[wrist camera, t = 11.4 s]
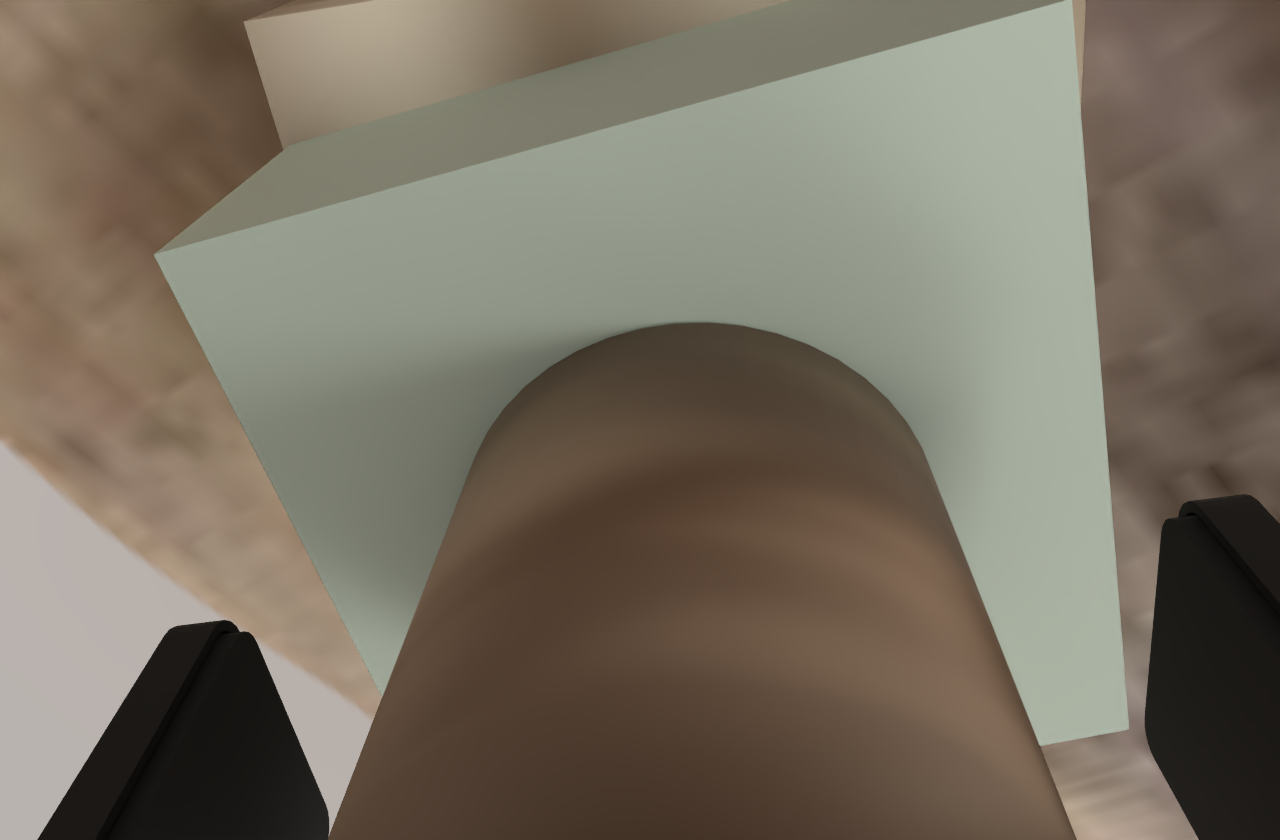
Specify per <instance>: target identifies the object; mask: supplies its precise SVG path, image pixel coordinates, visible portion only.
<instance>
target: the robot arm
mask: <svg viewBox="0 0 1280 840" xmlns="http://www.w3.org/2000/svg"><path fill="white" fill-rule="evenodd" d="M1145 731H1146V736H1147V740H1148V744H1149V747H1150V750H1151V753H1152V755H1153V757H1154V759H1155V761H1156V763H1157V764H1158V766H1159V768H1160V770H1161V772H1162V773H1163V775H1164V777H1165V779H1166V781H1167V783H1168V784H1169V786H1170V788H1171V790H1172V792H1173V793H1174V795H1175V797H1176V799H1177V801H1178V802H1179V804H1180V806H1181V808H1182V810H1183V812H1184V813H1185V815H1186V817H1187V819H1188V821H1189V822H1190V824H1191V826H1192V828H1193V830H1194V831H1195V833H1196V835H1197V837H1198V839H1199V840H1280V524H1279V523H1278V522H1277V521H1276V520H1275V518H1274V517H1273V516H1272V515H1271V514H1270V513H1269V512H1268V511H1267V510H1266V509H1265V508H1264V507H1263V506H1262V505H1261V503H1260V502H1259V501H1257V500H1256V499H1255V498H1254V497H1252V496H1250V495H1245V494H1244V495H1236V496H1228V497H1219V498H1211V499H1203V500H1195V501H1188V502H1186V503H1184V504H1183V506H1182V507H1181V509H1180V511H1179V516H1178V518H1170V519H1167V520H1165V522H1164V524H1163V527H1162V532H1161V542H1160V553H1159V564H1158V575H1157V586H1156V597H1155V608H1154V619H1153V631H1152V642H1151V653H1150V664H1149V675H1148V686H1147V697H1146V708H1145ZM328 834H329V816H328V810H327V807H326V804H325V802H324V799H323V797H322V795H321V792H320V790H319V788H318V785H317V783H316V780H315V778H314V776H313V773H312V771H311V769H310V767H309V764H308V762H307V759H306V757H305V755H304V752H303V750H302V748H301V746H300V743H299V740H298V738H297V736H296V733H295V731H294V729H293V726H292V724H291V722H290V719H289V717H288V715H287V712H286V710H285V708H284V705H283V703H282V700H281V698H280V696H279V694H278V691H277V689H276V686H275V684H274V682H273V679H272V677H271V675H270V672H269V670H268V668H267V665H266V663H265V660H264V658H263V656H262V654H261V651H260V649H259V646H258V644H257V642H256V640H255V638H254V637H253V635H251V634H250V633H249V632H240V631H239V630H238V628H237V626H236V625H234V624H233V623H232V622H231V621H227V620H222V621H213V622H205V623H197V624H189V625H181V626H176V627H173V628H171V629H170V630H169V631H168V632H167V633H166V634H165V635H164V637H163V639H162V640H161V642H160V643H159V645H158V647H157V648H156V650H155V651H154V653H153V655H152V656H151V658H150V660H149V661H148V663H147V664H146V666H145V668H144V669H143V671H142V673H141V674H140V676H139V677H138V679H137V680H136V682H135V684H134V686H133V687H132V689H131V690H130V692H129V693H128V695H127V697H126V698H125V700H124V702H123V703H122V705H121V706H120V708H119V710H118V711H117V713H116V714H115V716H114V717H113V719H112V721H111V722H110V724H109V725H108V727H107V729H106V730H105V732H104V734H103V735H102V737H101V738H100V740H99V742H98V743H97V745H96V746H95V748H94V750H93V751H92V753H91V754H90V756H89V758H88V760H87V761H86V763H85V764H84V766H83V767H82V769H81V771H80V772H79V774H78V775H77V777H76V779H75V780H74V782H73V783H72V785H71V787H70V789H69V790H68V791H67V793H66V795H65V796H64V798H63V800H62V801H61V803H60V804H59V806H58V808H57V809H56V811H55V812H54V814H53V816H52V817H51V819H50V820H49V822H48V824H47V825H46V827H45V828H44V830H43V832H42V833H41V835H40V837H39V838H38V840H328Z"/></svg>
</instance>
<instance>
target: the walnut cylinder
mask: <svg viewBox="0 0 1280 840" xmlns="http://www.w3.org/2000/svg"><path fill="white" fill-rule="evenodd" d="M328 840H1077V839H1076V837H1075V834H1074V832H1073V829H1072V827H1071V824H1070V822H1069V819H1068V816H1067V814H1066V811H1065V809H1064V806H1063V804H1062V801H1061V799H1060V796H1059V794H1058V791H1057V789H1056V786H1055V783H1054V781H1053V778H1052V776H1051V773H1050V771H1049V768H1048V766H1047V763H1046V761H1045V758H1044V755H1043V753H1042V750H1041V748H1040V745H1039V743H1038V740H1037V738H1036V735H1035V733H1034V730H1033V728H1032V725H1031V722H1030V720H1029V717H1028V715H1027V712H1026V710H1025V707H1024V705H1023V702H1022V700H1021V697H1020V695H1019V692H1018V689H1017V687H1016V684H1015V682H1014V679H1013V677H1012V674H1011V672H1010V669H1009V667H1008V664H1007V661H1006V659H1005V656H1004V654H1003V651H1002V649H1001V646H1000V644H999V641H998V639H997V636H996V634H995V631H994V628H993V626H992V623H991V621H990V618H989V616H988V613H987V611H986V608H985V606H984V603H983V601H982V598H981V595H980V593H979V590H978V588H977V585H976V583H975V580H974V578H973V575H972V573H971V570H970V567H969V565H968V562H967V560H966V557H965V555H964V552H963V550H962V547H961V545H960V542H959V540H958V537H957V534H956V532H955V529H954V527H953V524H952V522H951V519H950V517H949V514H948V512H947V509H946V507H945V504H944V501H943V499H942V496H941V494H940V491H939V489H938V486H937V484H936V481H935V479H934V476H933V473H932V471H931V468H930V466H929V463H928V461H927V458H926V456H925V453H924V451H923V448H922V446H921V445H920V443H919V441H918V440H917V438H916V436H915V435H914V433H913V431H912V430H911V428H910V426H909V425H908V423H907V422H906V420H905V419H904V418H903V417H902V415H901V414H900V413H899V412H898V411H897V409H896V408H895V407H894V406H893V404H892V403H891V402H890V401H889V400H888V399H887V398H886V397H885V396H884V395H883V394H882V393H881V392H880V391H879V390H878V389H877V388H875V387H874V386H873V385H872V384H871V383H870V382H869V381H868V380H867V379H866V378H864V377H863V376H861V375H860V374H859V373H857V372H856V371H854V370H853V369H851V368H850V367H848V366H847V365H846V364H844V363H843V362H841V361H840V360H838V359H836V358H834V357H832V356H830V355H828V354H826V353H824V352H822V351H820V350H818V349H816V348H815V347H813V346H811V345H808V344H806V343H803V342H800V341H797V340H794V339H792V338H789V337H786V336H783V335H780V334H777V333H773V332H769V331H764V330H760V329H755V328H750V327H746V326H738V325H728V324H717V323H681V324H669V325H662V326H656V327H649V328H642V329H638V330H634V331H631V332H627V333H624V334H620V335H617V336H613V337H609V338H606V339H604V340H602V341H599V342H597V343H595V344H592V345H590V346H588V347H585V348H583V349H580V350H578V351H576V352H574V353H573V354H571V355H569V356H568V357H566V358H564V359H563V360H561V361H559V362H557V363H556V364H554V365H552V366H551V367H549V368H548V369H547V370H545V371H544V372H543V373H541V374H540V375H539V376H538V377H536V378H535V379H534V380H532V381H531V382H530V383H529V384H527V385H526V386H525V387H524V388H523V389H522V390H521V391H520V392H519V393H518V394H517V395H516V396H515V397H514V398H513V399H512V400H511V402H510V403H509V404H508V405H507V406H506V407H505V408H504V409H503V411H502V412H501V413H500V415H499V416H498V418H497V419H496V420H495V422H494V423H493V425H492V426H491V427H490V429H489V430H488V432H487V434H486V436H485V438H484V439H483V441H482V443H481V445H480V447H479V449H478V451H477V453H476V455H475V457H474V460H473V463H472V465H471V468H470V470H469V473H468V476H467V478H466V481H465V483H464V486H463V489H462V491H461V494H460V496H459V499H458V502H457V504H456V507H455V510H454V512H453V515H452V517H451V520H450V523H449V525H448V528H447V530H446V533H445V536H444V538H443V541H442V543H441V546H440V549H439V551H438V554H437V556H436V559H435V562H434V564H433V567H432V569H431V572H430V575H429V577H428V580H427V582H426V585H425V588H424V590H423V593H422V595H421V598H420V601H419V603H418V606H417V608H416V611H415V614H414V616H413V619H412V621H411V624H410V627H409V629H408V632H407V634H406V637H405V640H404V642H403V645H402V647H401V650H400V653H399V655H398V658H397V660H396V663H395V666H394V668H393V671H392V673H391V676H390V679H389V681H388V684H387V686H386V689H385V692H384V694H383V697H382V699H381V702H380V705H379V707H378V710H377V712H376V715H375V718H374V720H373V723H372V725H371V728H370V731H369V733H368V736H367V739H366V741H365V744H364V746H363V749H362V751H361V754H360V757H359V759H358V762H357V765H356V767H355V770H354V772H353V775H352V778H351V780H350V783H349V785H348V788H347V791H346V793H345V796H344V798H343V801H342V804H341V806H340V809H339V811H338V814H337V817H336V819H335V822H334V825H333V827H332V830H331V832H330V835H329V837H328Z"/></svg>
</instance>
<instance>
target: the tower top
mask: <svg viewBox="0 0 1280 840" xmlns="http://www.w3.org/2000/svg"><path fill="white" fill-rule="evenodd" d="M154 257H155V259H156V260H157V262H158V264H159V266H160V268H161V270H162V272H163V274H164V276H165V278H166V280H167V282H168V284H169V286H170V288H171V290H172V291H173V293H174V295H175V297H176V299H177V301H178V303H179V305H180V307H181V309H182V311H183V313H184V315H185V317H186V319H187V321H188V322H189V324H190V326H191V328H192V330H193V332H194V334H195V336H196V338H197V340H198V342H199V344H200V346H201V348H202V350H203V351H204V353H205V355H206V357H207V359H208V361H209V363H210V365H211V367H212V369H213V371H214V373H215V375H216V377H217V379H218V381H219V382H220V384H221V386H222V388H223V390H224V392H225V394H226V396H227V398H228V400H229V402H230V404H231V406H232V408H233V410H234V411H235V413H236V415H237V417H238V419H239V421H240V423H241V425H242V427H243V429H244V431H245V433H246V435H247V437H248V439H249V441H250V442H251V444H252V446H253V448H254V450H255V452H256V454H257V456H258V458H259V460H260V462H261V464H262V466H263V468H264V470H265V471H266V473H267V475H268V477H269V479H270V481H271V483H272V485H273V487H274V489H275V491H276V493H277V495H278V497H279V499H280V501H281V502H282V504H283V506H284V508H285V510H286V512H287V514H288V516H289V518H290V520H291V522H292V524H293V526H294V528H295V530H296V531H297V533H298V535H299V537H300V539H301V541H302V543H303V545H304V547H305V549H306V551H307V553H308V555H309V557H310V559H311V561H312V562H313V564H314V566H315V568H316V570H317V572H318V574H319V576H320V578H321V580H322V582H323V584H324V586H325V588H326V590H327V592H328V593H329V595H330V597H331V599H332V601H333V603H334V605H335V607H336V609H337V611H338V613H339V615H340V617H341V619H342V621H343V622H344V624H345V626H346V628H347V630H348V632H349V634H350V636H351V638H352V640H353V642H354V644H355V646H356V648H357V650H358V652H359V653H360V655H361V657H362V659H363V661H364V663H365V665H366V667H367V669H368V671H369V673H370V675H371V677H372V679H373V681H374V682H375V684H376V686H377V688H378V690H379V692H380V694H381V696H382V697H383V694H384V692H385V689H386V686H387V684H388V681H389V679H390V676H391V673H392V671H393V668H394V666H395V663H396V660H397V658H398V655H399V653H400V650H401V647H402V645H403V642H404V640H405V637H406V634H407V632H408V629H409V627H410V624H411V621H412V619H413V616H414V614H415V611H416V608H417V606H418V603H419V601H420V598H421V595H422V593H423V590H424V588H425V585H426V582H427V580H428V577H429V575H430V572H431V569H432V567H433V564H434V562H435V559H436V556H437V554H438V551H439V549H440V546H441V543H442V541H443V538H444V536H445V533H446V530H447V528H448V525H449V523H450V520H451V517H452V515H453V512H454V510H455V507H456V504H457V502H458V499H459V496H460V494H461V491H462V489H463V486H464V483H465V481H466V478H467V476H468V473H469V470H470V468H471V465H472V463H473V460H474V457H475V455H476V453H477V451H478V449H479V447H480V445H481V443H482V441H483V439H484V438H485V436H486V434H487V432H488V430H489V429H490V427H491V426H492V425H493V423H494V422H495V420H496V419H497V418H498V416H499V415H500V413H501V412H502V411H503V409H504V408H505V407H506V406H507V405H508V404H509V403H510V402H511V400H512V399H513V398H514V397H515V396H516V395H517V394H518V393H519V392H520V391H521V390H522V389H523V388H524V387H525V386H526V385H527V384H529V383H530V382H531V381H532V380H534V379H535V378H536V377H538V376H539V375H540V374H541V373H543V372H544V371H545V370H547V369H548V368H549V367H551V366H552V365H554V364H556V363H557V362H559V361H561V360H563V359H564V358H566V357H568V356H569V355H571V354H573V353H574V352H576V351H578V350H580V349H583V348H585V347H588V346H590V345H592V344H595V343H597V342H599V341H602V340H604V339H606V338H609V337H613V336H617V335H620V334H624V333H627V332H631V331H634V330H638V329H642V328H649V327H656V326H662V325H669V324H681V323H717V324H728V325H738V326H746V327H750V328H755V329H760V330H764V331H769V332H773V333H777V334H780V335H783V336H786V337H789V338H792V339H794V340H797V341H800V342H803V343H806V344H808V345H811V346H813V347H815V348H816V349H818V350H820V351H822V352H824V353H826V354H828V355H830V356H832V357H834V358H836V359H838V360H840V361H841V362H843V363H844V364H846V365H847V366H848V367H850V368H851V369H853V370H854V371H856V372H857V373H859V374H860V375H861V376H863V377H864V378H866V379H867V380H868V381H869V382H870V383H871V384H872V385H873V386H874V387H875V388H877V389H878V390H879V391H880V392H881V393H882V394H883V395H884V396H885V397H886V398H887V399H888V400H889V401H890V402H891V403H892V404H893V406H894V407H895V408H896V409H897V411H898V412H899V413H900V414H901V415H902V417H903V418H904V419H905V420H906V422H907V423H908V425H909V426H910V428H911V430H912V431H913V433H914V435H915V436H916V438H917V440H918V441H919V443H920V445H921V446H922V448H923V451H924V453H925V456H926V458H927V461H928V463H929V466H930V468H931V471H932V473H933V476H934V479H935V481H936V484H937V486H938V489H939V491H940V494H941V496H942V499H943V501H944V504H945V507H946V509H947V512H948V514H949V517H950V519H951V522H952V524H953V527H954V529H955V532H956V534H957V537H958V540H959V542H960V545H961V547H962V550H963V552H964V555H965V557H966V560H967V562H968V565H969V567H970V570H971V573H972V575H973V578H974V580H975V583H976V585H977V588H978V590H979V593H980V595H981V598H982V601H983V603H984V606H985V608H986V611H987V613H988V616H989V618H990V621H991V623H992V626H993V628H994V631H995V634H996V636H997V639H998V641H999V644H1000V646H1001V649H1002V651H1003V654H1004V656H1005V659H1006V661H1007V664H1008V667H1009V669H1010V672H1011V674H1012V677H1013V679H1014V682H1015V684H1016V687H1017V689H1018V692H1019V695H1020V697H1021V700H1022V702H1023V705H1024V707H1025V710H1026V712H1027V715H1028V717H1029V720H1030V722H1031V725H1032V728H1033V730H1034V733H1035V735H1036V738H1037V740H1038V743H1039V745H1040V746H1042V745H1048V744H1053V743H1059V742H1064V741H1069V740H1075V739H1080V738H1086V737H1091V736H1096V735H1102V734H1107V733H1113V732H1118V731H1123V730H1129V722H1128V710H1127V697H1126V684H1125V671H1124V659H1123V646H1122V633H1121V620H1120V607H1119V595H1118V582H1117V569H1116V556H1115V543H1114V531H1113V518H1112V505H1111V492H1110V479H1109V467H1108V454H1107V441H1106V428H1105V415H1104V403H1103V390H1102V377H1101V364H1100V352H1099V339H1098V326H1097V313H1096V300H1095V288H1094V275H1093V262H1092V249H1091V236H1090V224H1089V211H1088V198H1087V185H1086V172H1085V160H1084V147H1083V134H1082V121H1081V108H1080V96H1079V83H1078V70H1077V57H1076V45H1075V32H1074V19H1073V6H1072V0H790V1H787V2H784V3H780V4H777V5H773V6H770V7H766V8H763V9H759V10H756V11H752V12H749V13H745V14H742V15H739V16H735V17H732V18H728V19H725V20H721V21H718V22H714V23H711V24H707V25H704V26H700V27H697V28H693V29H690V30H687V31H683V32H680V33H676V34H673V35H669V36H666V37H662V38H659V39H655V40H652V41H648V42H645V43H642V44H638V45H635V46H631V47H628V48H624V49H621V50H617V51H614V52H610V53H607V54H603V55H600V56H597V57H593V58H590V59H586V60H583V61H579V62H576V63H572V64H569V65H565V66H562V67H558V68H555V69H551V70H548V71H545V72H541V73H538V74H534V75H531V76H527V77H524V78H520V79H517V80H513V81H510V82H506V83H503V84H500V85H496V86H493V87H489V88H486V89H482V90H479V91H475V92H472V93H468V94H465V95H461V96H458V97H454V98H451V99H448V100H444V101H441V102H437V103H434V104H430V105H427V106H423V107H420V108H416V109H413V110H409V111H406V112H403V113H399V114H396V115H392V116H389V117H385V118H382V119H378V120H375V121H371V122H368V123H364V124H361V125H357V126H354V127H351V128H347V129H344V130H340V131H337V132H333V133H330V134H326V135H323V136H319V137H316V138H312V139H309V140H306V141H302V142H299V143H295V144H292V145H289V146H288V147H287V148H286V149H284V150H283V151H282V152H281V153H279V154H278V155H277V156H276V157H274V158H273V159H272V160H271V161H269V162H268V163H267V164H266V165H264V166H263V167H262V168H261V169H259V170H258V171H257V172H256V173H254V174H253V175H252V176H251V177H249V178H248V179H247V180H246V181H244V182H243V183H242V184H241V185H240V186H238V187H237V188H236V189H235V190H233V191H232V192H231V193H230V194H228V195H227V196H226V197H225V198H223V199H222V200H221V201H220V202H218V203H217V204H216V205H215V206H213V207H212V208H211V209H210V210H208V211H207V212H206V213H205V214H203V215H202V216H201V217H200V218H198V219H197V220H196V221H195V222H193V223H192V224H191V225H190V226H188V227H187V228H186V229H185V230H183V231H182V232H181V233H180V234H178V235H177V236H176V237H175V238H174V239H172V240H171V241H170V242H169V243H167V244H166V245H165V246H164V247H162V248H161V249H160V250H159V251H157V252H156V253H155V254H154Z"/></svg>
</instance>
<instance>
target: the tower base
mask: <svg viewBox="0 0 1280 840" xmlns="http://www.w3.org/2000/svg"><path fill="white" fill-rule="evenodd" d="M787 1H790V0H294V1H292V2H289V3H287V4H284V5H282V6H280V7H277V8H275V9H272V10H270V11H268V12H265V13H263V14H260V15H258V16H255V17H253V18H251V19H248V20H246V21H243V22H244V25H245V28H246V32H247V35H248V38H249V41H250V45H251V48H252V51H253V54H254V58H255V61H256V64H257V67H258V70H259V74H260V77H261V80H262V83H263V87H264V90H265V93H266V96H267V100H268V103H269V106H270V109H271V113H272V116H273V119H274V122H275V126H276V129H277V132H278V135H279V139H280V142H281V145H282V148H283V150H284V149H286V148H287V147H288V146H289V145H292V144H295V143H299V142H302V141H306V140H309V139H312V138H316V137H319V136H323V135H326V134H330V133H333V132H337V131H340V130H344V129H347V128H351V127H354V126H357V125H361V124H364V123H368V122H371V121H375V120H378V119H382V118H385V117H389V116H392V115H396V114H399V113H403V112H406V111H409V110H413V109H416V108H420V107H423V106H427V105H430V104H434V103H437V102H441V101H444V100H448V99H451V98H454V97H458V96H461V95H465V94H468V93H472V92H475V91H479V90H482V89H486V88H489V87H493V86H496V85H500V84H503V83H506V82H510V81H513V80H517V79H520V78H524V77H527V76H531V75H534V74H538V73H541V72H545V71H548V70H551V69H555V68H558V67H562V66H565V65H569V64H572V63H576V62H579V61H583V60H586V59H590V58H593V57H597V56H600V55H603V54H607V53H610V52H614V51H617V50H621V49H624V48H628V47H631V46H635V45H638V44H642V43H645V42H648V41H652V40H655V39H659V38H662V37H666V36H669V35H673V34H676V33H680V32H683V31H687V30H690V29H693V28H697V27H700V26H704V25H707V24H711V23H714V22H718V21H721V20H725V19H728V18H732V17H735V16H739V15H742V14H745V13H749V12H752V11H756V10H759V9H763V8H766V7H770V6H773V5H777V4H780V3H784V2H787ZM1072 6H1073V19H1074V32H1075V45H1076V57H1077V70H1078V83H1079V96H1080V108H1081V93H1082V72H1083V52H1084V31H1085V10H1086V0H1072Z"/></svg>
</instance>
